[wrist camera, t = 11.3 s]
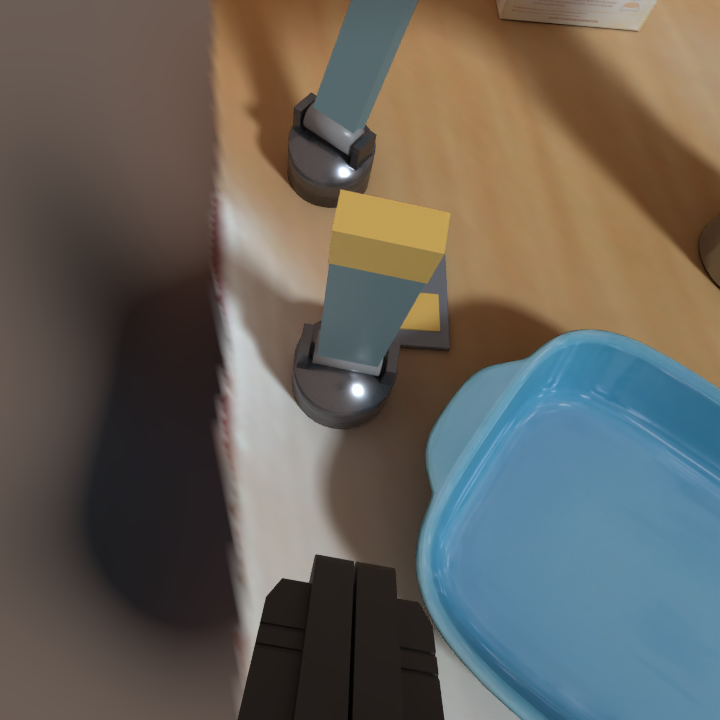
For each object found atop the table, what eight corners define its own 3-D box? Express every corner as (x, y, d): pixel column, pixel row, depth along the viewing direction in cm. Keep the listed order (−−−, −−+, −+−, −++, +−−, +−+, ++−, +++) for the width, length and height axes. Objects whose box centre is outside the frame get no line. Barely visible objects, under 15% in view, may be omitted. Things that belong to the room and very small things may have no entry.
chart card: (386, 217, 46) (387, 213, 45) (441, 223, 46) (443, 218, 46) (386, 346, 41) (388, 342, 41) (448, 350, 42) (450, 347, 41)
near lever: (376, 379, 36) (447, 261, 19) (311, 366, 36) (326, 236, 19) (382, 348, 37) (456, 207, 20) (318, 335, 36) (337, 181, 19)
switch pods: (287, 141, 47) (288, 85, 42) (366, 145, 48) (377, 90, 43) (292, 430, 38) (294, 400, 33) (391, 428, 39) (408, 398, 34)
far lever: (344, 158, 42) (470, -142, 31) (300, 128, 42) (408, -176, 32) (357, 153, 43) (480, -134, 33) (314, 125, 44) (422, -166, 33)
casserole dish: (320, 577, 35) (331, 566, 28) (505, 320, 44) (546, 267, 37) (907, 1050, 29) (1087, 1170, 23) (980, 646, 38) (1124, 650, 32)
